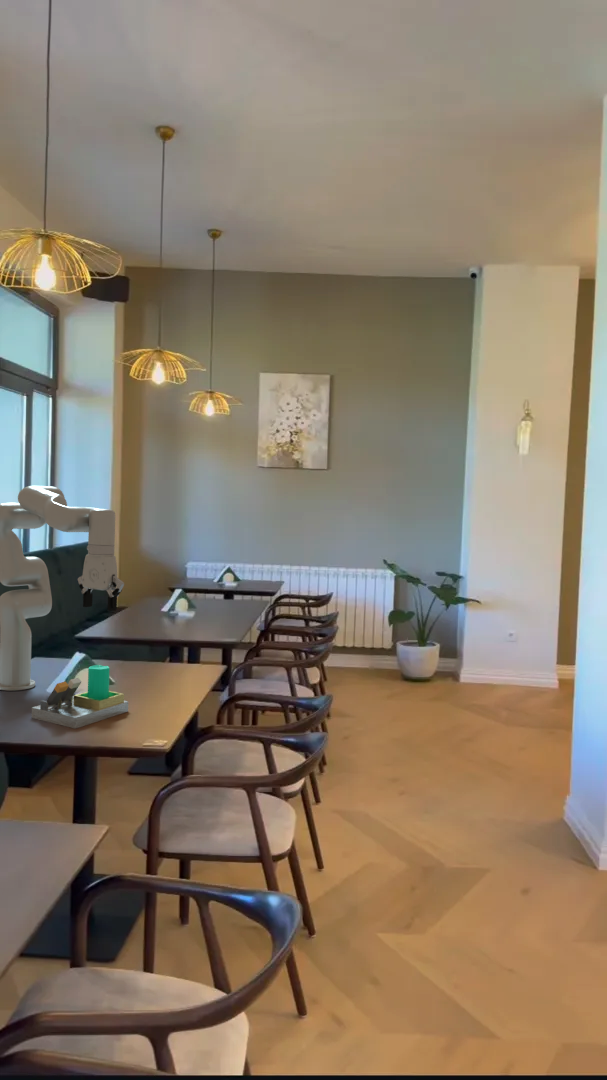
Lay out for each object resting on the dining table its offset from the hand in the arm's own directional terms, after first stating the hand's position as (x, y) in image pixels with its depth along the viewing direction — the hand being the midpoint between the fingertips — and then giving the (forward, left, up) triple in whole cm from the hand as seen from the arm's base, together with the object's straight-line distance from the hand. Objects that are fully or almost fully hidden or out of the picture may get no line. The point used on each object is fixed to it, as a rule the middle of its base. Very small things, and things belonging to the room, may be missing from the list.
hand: (99, 608), depth 225 cm
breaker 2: (-4, -9, -26) cm, 28 cm away
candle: (+3, -2, -27) cm, 28 cm away
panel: (0, -6, -30) cm, 31 cm away
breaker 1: (-4, -14, -26) cm, 30 cm away
